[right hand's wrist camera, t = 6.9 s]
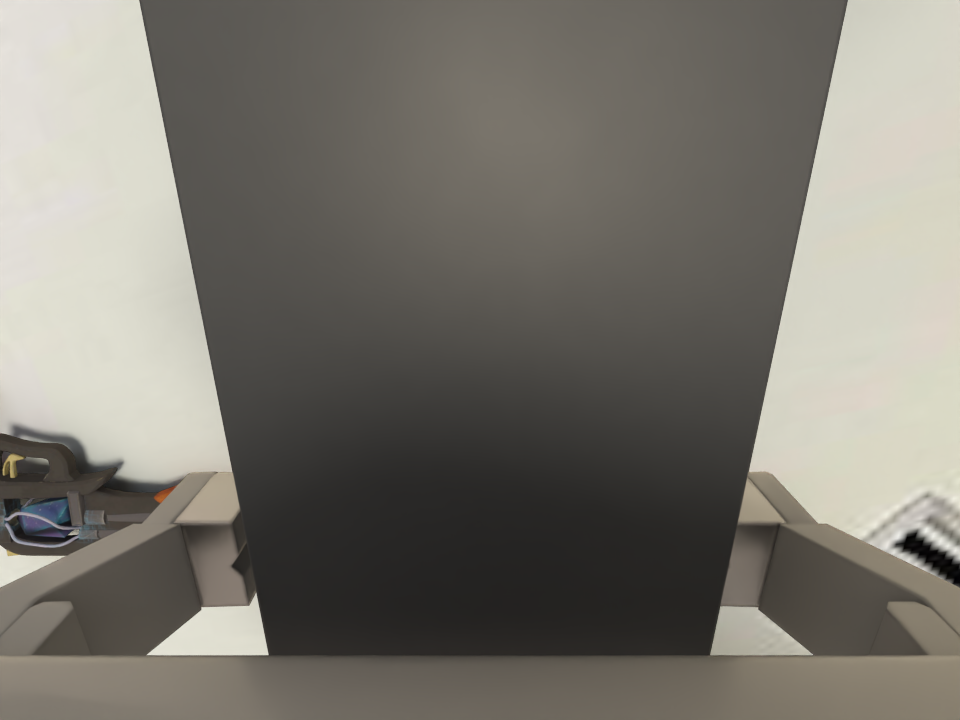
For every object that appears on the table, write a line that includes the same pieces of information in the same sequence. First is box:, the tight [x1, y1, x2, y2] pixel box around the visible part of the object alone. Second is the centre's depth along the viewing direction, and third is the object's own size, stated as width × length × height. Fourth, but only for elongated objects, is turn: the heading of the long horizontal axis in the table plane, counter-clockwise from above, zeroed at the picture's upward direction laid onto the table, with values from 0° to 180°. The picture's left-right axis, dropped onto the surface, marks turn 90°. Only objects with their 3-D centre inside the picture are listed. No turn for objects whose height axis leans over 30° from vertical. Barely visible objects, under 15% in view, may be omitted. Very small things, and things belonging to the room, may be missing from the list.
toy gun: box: [0, 434, 177, 556], centre depth 28 cm, size 3×19×10 cm
